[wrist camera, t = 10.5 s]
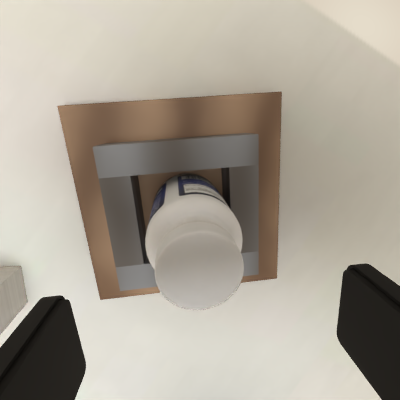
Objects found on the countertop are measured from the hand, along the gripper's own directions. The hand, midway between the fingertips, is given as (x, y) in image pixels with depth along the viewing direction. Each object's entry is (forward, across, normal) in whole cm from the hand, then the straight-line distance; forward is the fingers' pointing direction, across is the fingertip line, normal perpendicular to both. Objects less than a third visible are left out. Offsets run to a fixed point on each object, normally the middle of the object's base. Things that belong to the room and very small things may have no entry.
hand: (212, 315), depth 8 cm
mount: (+13, +1, 0) cm, 13 cm away
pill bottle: (+12, 0, 0) cm, 12 cm away
